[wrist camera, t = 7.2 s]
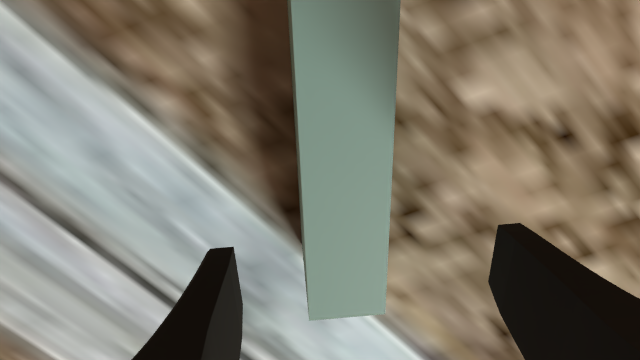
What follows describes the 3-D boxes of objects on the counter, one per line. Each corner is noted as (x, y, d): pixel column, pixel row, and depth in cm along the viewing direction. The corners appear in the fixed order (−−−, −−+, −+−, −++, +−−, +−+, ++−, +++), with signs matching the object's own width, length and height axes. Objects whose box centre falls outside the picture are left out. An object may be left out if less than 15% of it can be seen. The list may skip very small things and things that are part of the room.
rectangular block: (369, -32, 18) (400, -6, 14) (364, 237, 24) (385, 314, 20) (285, -28, 18) (291, 0, 14) (301, 242, 24) (309, 320, 20)
